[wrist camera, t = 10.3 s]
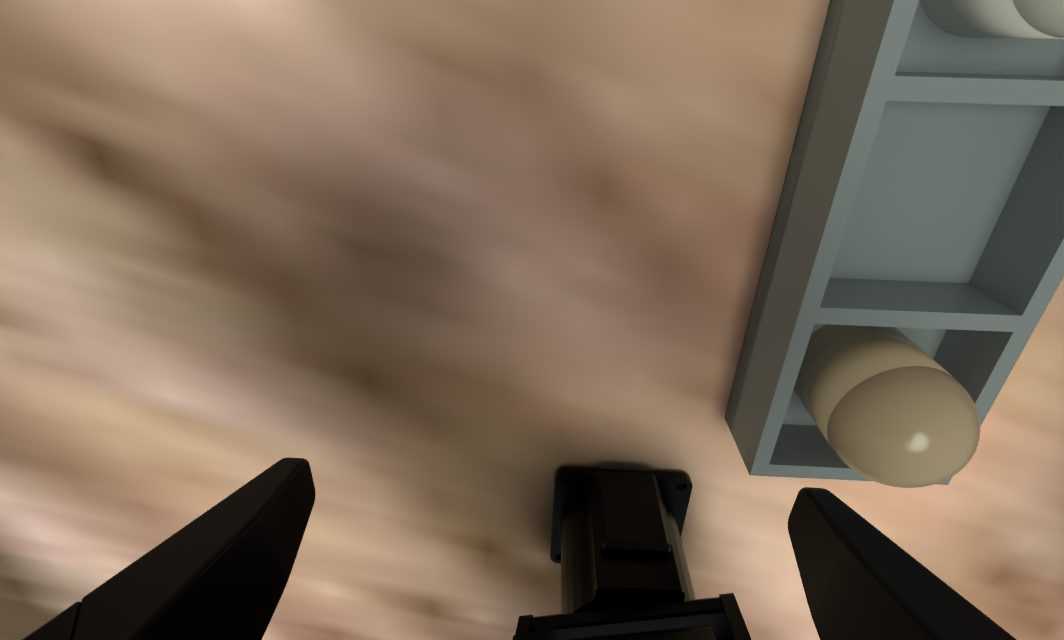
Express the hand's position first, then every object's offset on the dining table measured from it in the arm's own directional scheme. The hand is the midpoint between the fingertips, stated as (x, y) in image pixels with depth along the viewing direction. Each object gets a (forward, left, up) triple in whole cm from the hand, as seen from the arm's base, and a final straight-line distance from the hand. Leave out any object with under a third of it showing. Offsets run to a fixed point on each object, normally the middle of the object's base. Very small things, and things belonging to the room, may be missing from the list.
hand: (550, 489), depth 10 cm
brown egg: (-4, -12, -11) cm, 17 cm away
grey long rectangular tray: (+3, -12, -12) cm, 17 cm away
